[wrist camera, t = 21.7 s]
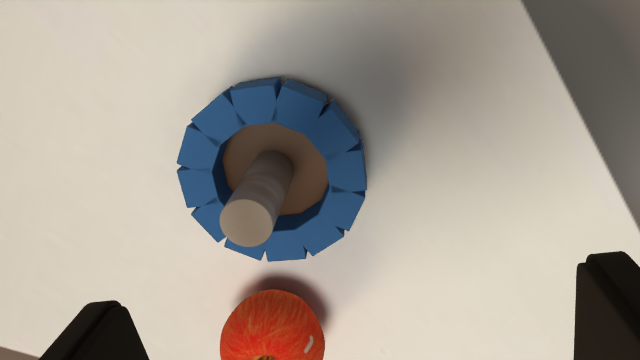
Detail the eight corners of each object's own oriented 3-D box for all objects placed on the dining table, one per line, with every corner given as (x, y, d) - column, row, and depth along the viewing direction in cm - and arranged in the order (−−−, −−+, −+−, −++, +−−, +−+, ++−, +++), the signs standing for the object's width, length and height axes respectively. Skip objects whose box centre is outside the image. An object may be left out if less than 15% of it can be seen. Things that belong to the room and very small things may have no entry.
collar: (353, 66, 29) (352, 73, 27) (373, 236, 34) (374, 253, 32) (170, 91, 31) (156, 99, 29) (213, 249, 36) (203, 267, 33)
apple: (306, 262, 38) (292, 307, 30) (341, 347, 39) (336, 411, 31) (220, 292, 39) (184, 343, 31) (256, 373, 41) (231, 441, 33)
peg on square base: (325, 93, 32) (310, 134, 23) (346, 209, 35) (339, 284, 26) (202, 113, 33) (144, 158, 24) (233, 223, 36) (191, 298, 28)
